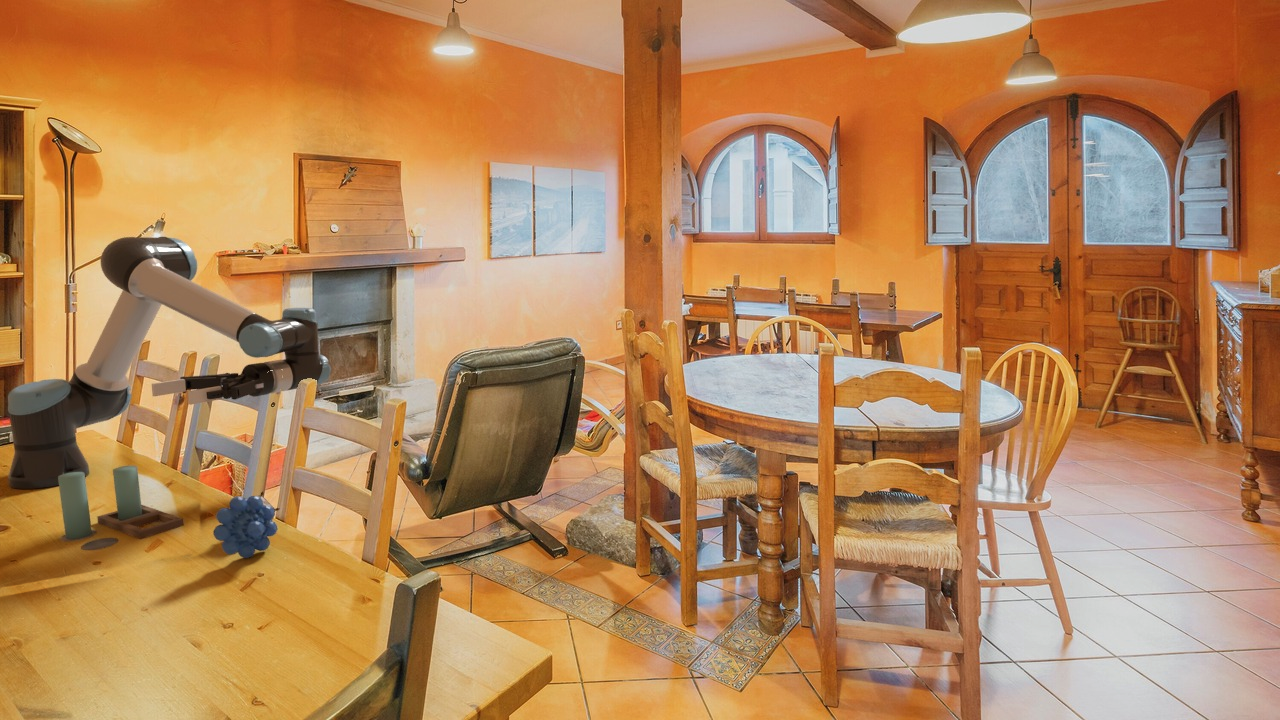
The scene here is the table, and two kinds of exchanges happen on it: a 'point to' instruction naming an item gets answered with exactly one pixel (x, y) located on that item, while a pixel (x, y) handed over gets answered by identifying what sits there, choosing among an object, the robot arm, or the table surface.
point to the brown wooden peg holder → (141, 522)
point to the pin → (75, 505)
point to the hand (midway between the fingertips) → (170, 393)
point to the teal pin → (127, 492)
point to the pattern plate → (94, 542)
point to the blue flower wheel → (245, 526)
